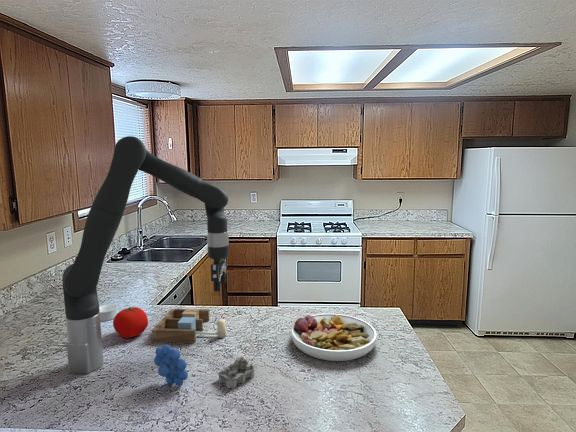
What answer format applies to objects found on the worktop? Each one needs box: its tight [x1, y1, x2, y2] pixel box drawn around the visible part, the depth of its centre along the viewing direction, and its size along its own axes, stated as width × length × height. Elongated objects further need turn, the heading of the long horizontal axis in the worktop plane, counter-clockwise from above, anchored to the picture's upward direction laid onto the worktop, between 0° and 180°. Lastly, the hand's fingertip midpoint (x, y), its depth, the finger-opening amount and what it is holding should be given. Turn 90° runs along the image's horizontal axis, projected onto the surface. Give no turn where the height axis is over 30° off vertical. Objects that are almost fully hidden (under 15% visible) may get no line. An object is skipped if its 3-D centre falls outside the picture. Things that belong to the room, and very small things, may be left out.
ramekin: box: [99, 303, 119, 322], centre depth 157 cm, size 9×9×4 cm
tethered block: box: [178, 317, 227, 339], centre depth 140 cm, size 5×17×6 cm, turn 87°
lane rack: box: [151, 308, 210, 344], centre depth 145 cm, size 20×16×4 cm
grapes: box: [153, 343, 189, 387], centre depth 109 cm, size 12×7×12 cm, turn 67°
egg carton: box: [216, 356, 257, 389], centre depth 113 cm, size 11×8×4 cm
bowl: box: [290, 313, 377, 362], centre depth 135 cm, size 30×30×8 cm
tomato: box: [112, 306, 149, 339], centre depth 141 cm, size 11×12×10 cm
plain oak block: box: [182, 307, 200, 319], centre depth 150 cm, size 5×5×6 cm
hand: (220, 287), depth 138 cm, fingers open, 8 cm apart
